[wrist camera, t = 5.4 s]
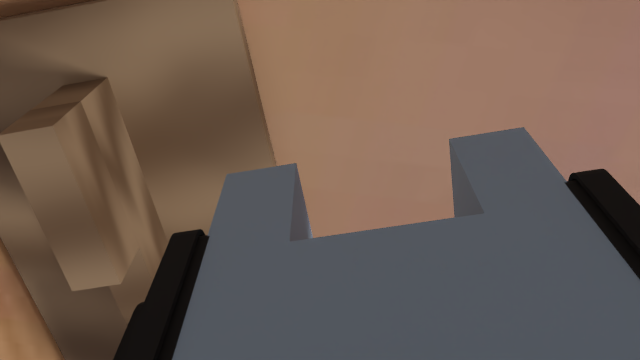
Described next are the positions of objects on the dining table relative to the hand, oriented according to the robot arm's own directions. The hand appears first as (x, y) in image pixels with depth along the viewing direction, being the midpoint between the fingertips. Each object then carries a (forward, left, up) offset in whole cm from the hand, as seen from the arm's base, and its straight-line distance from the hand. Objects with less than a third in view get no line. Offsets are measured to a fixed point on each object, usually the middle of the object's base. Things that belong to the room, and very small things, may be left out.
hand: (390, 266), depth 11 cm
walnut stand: (+8, -11, -15) cm, 20 cm away
